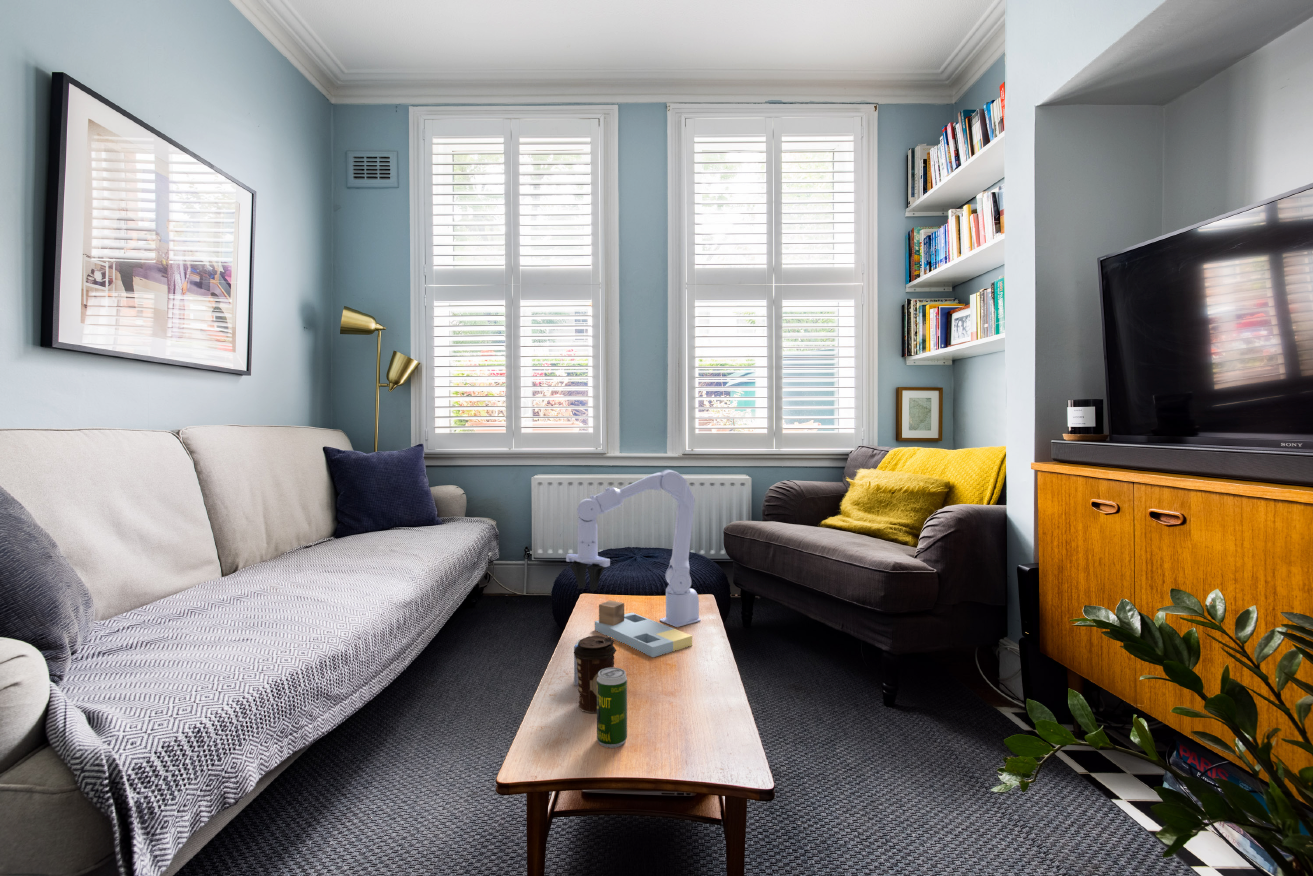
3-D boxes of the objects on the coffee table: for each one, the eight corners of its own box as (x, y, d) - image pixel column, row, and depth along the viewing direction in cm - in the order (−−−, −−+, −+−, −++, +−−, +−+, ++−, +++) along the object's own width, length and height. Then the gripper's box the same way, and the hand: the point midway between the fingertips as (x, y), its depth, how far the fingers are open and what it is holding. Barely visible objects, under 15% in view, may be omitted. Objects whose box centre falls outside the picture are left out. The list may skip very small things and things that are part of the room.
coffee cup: (624, 701, 118) (624, 637, 118) (604, 719, 111) (604, 651, 111) (587, 694, 122) (587, 631, 122) (565, 710, 114) (565, 644, 114)
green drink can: (611, 730, 107) (611, 664, 107) (633, 739, 103) (633, 672, 103) (590, 741, 103) (590, 673, 103) (612, 752, 99) (612, 681, 99)
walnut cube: (609, 617, 165) (609, 600, 165) (624, 620, 163) (624, 602, 163) (599, 622, 161) (598, 604, 161) (613, 625, 158) (613, 607, 158)
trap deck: (632, 620, 171) (632, 612, 171) (692, 645, 150) (692, 635, 150) (594, 630, 162) (594, 621, 162) (652, 657, 142) (652, 647, 142)
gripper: (559, 541, 167) (559, 588, 167) (599, 546, 159) (599, 595, 159) (575, 537, 173) (575, 583, 173) (614, 542, 165) (614, 590, 165)
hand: (587, 589), depth 167 cm, fingers open, 4 cm apart
